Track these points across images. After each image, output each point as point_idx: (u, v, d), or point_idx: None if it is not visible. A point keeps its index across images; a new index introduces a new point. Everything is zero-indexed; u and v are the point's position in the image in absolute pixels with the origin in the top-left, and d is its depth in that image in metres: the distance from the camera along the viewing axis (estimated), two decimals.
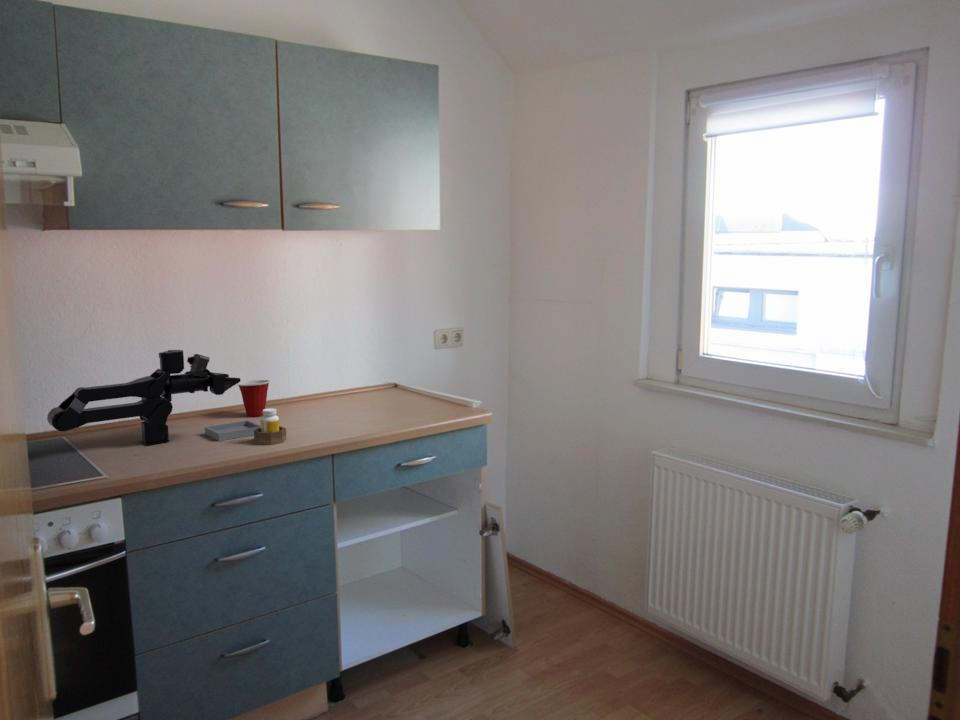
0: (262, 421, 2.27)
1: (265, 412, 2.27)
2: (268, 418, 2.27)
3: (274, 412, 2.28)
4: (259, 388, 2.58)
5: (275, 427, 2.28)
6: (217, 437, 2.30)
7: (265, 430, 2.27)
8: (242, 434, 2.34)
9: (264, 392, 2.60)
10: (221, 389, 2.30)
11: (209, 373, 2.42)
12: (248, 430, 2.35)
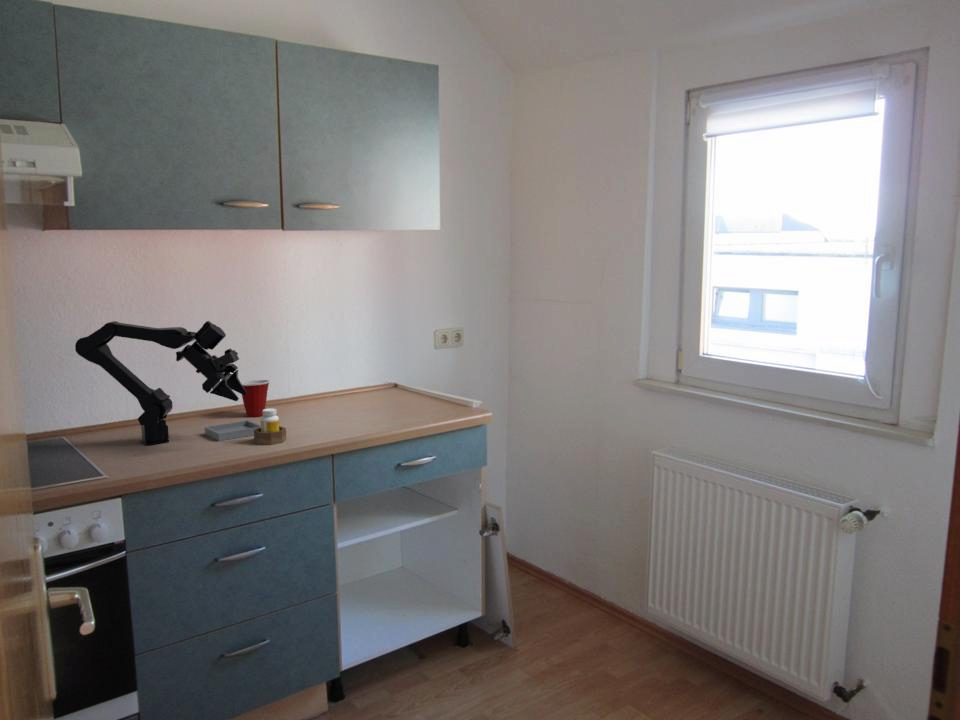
0: (262, 421, 2.27)
1: (265, 412, 2.27)
2: (268, 418, 2.27)
3: (274, 412, 2.28)
4: (259, 388, 2.58)
5: (275, 427, 2.28)
6: (217, 437, 2.30)
7: (265, 430, 2.27)
8: (242, 434, 2.34)
9: (264, 392, 2.60)
10: (209, 387, 2.17)
11: (234, 377, 2.32)
12: (248, 430, 2.35)
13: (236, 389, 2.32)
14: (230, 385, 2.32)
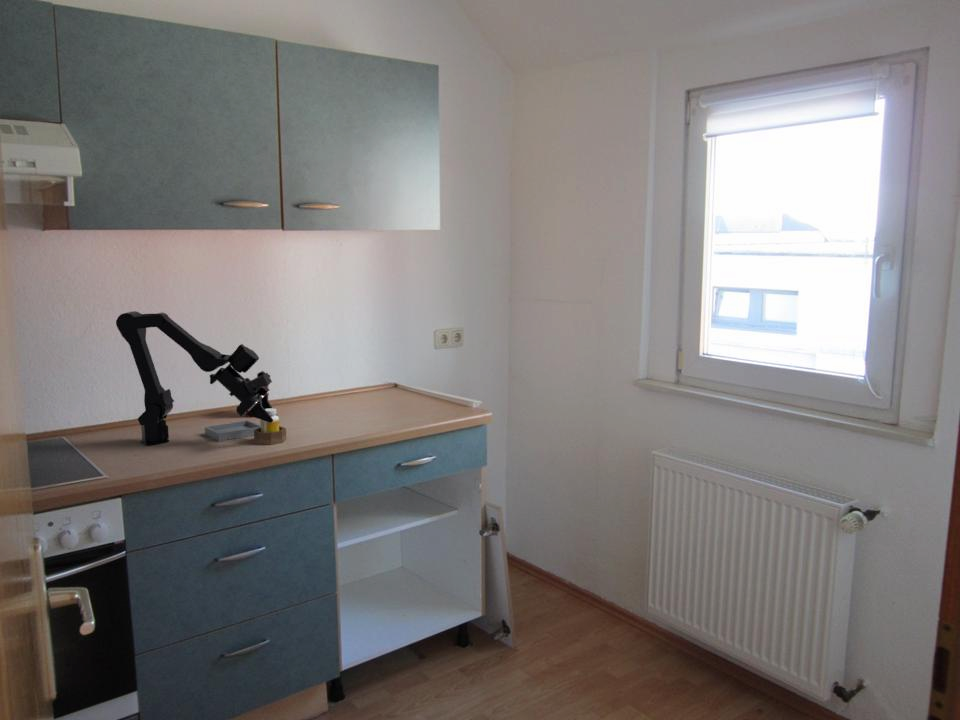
0: (262, 421, 2.27)
1: None
2: None
3: (274, 412, 2.28)
4: None
5: (275, 427, 2.28)
6: (217, 437, 2.30)
7: (265, 430, 2.27)
8: (242, 434, 2.34)
9: None
10: (243, 411, 2.19)
11: (265, 400, 2.31)
12: (248, 430, 2.35)
13: None
14: None
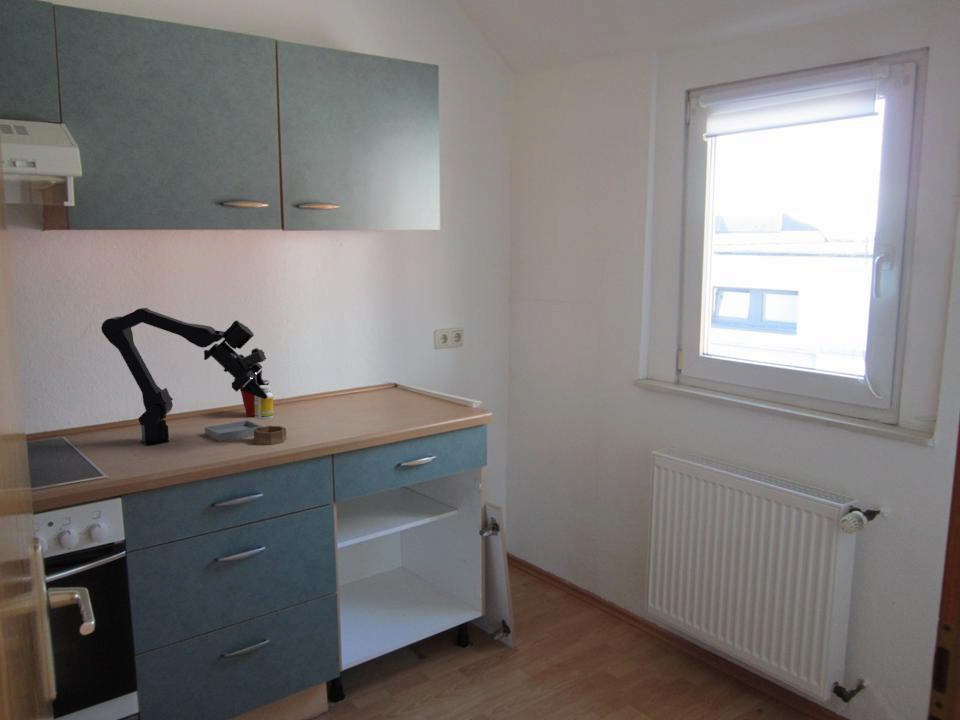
0: (256, 397, 2.27)
1: None
2: None
3: (268, 389, 2.28)
4: None
5: (270, 404, 2.28)
6: (217, 437, 2.30)
7: (259, 407, 2.27)
8: (242, 434, 2.34)
9: None
10: (238, 386, 2.19)
11: (258, 377, 2.32)
12: (248, 430, 2.35)
13: None
14: None
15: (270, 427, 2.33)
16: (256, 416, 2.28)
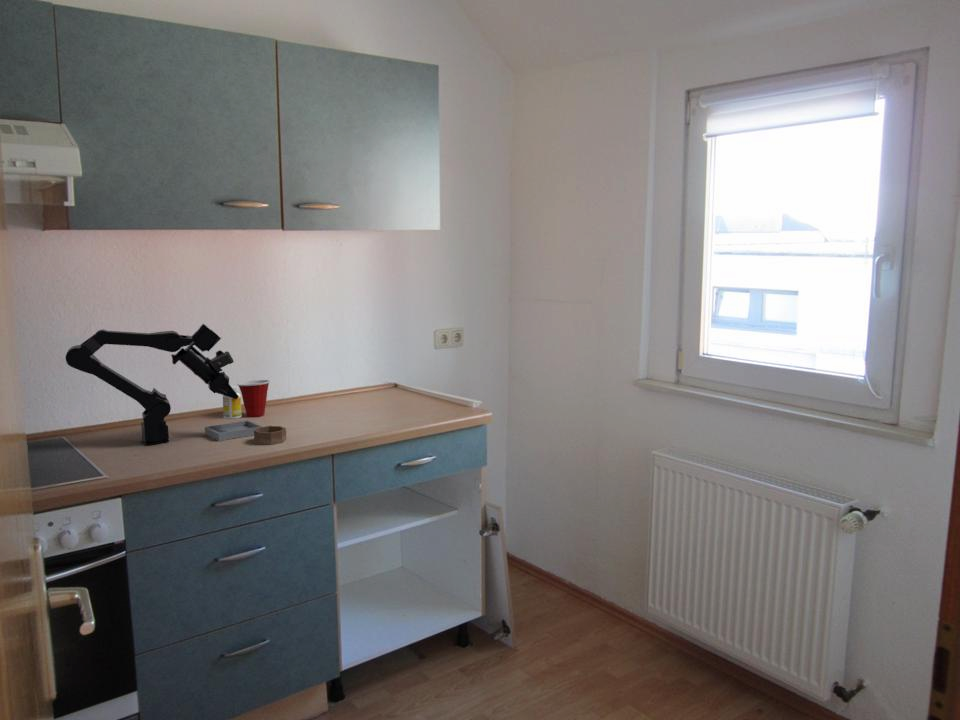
0: (227, 398, 2.34)
1: None
2: None
3: (237, 389, 2.36)
4: (259, 388, 2.58)
5: (239, 403, 2.36)
6: (217, 437, 2.30)
7: (230, 407, 2.34)
8: (242, 434, 2.34)
9: (264, 392, 2.60)
10: (217, 388, 2.25)
11: None
12: (248, 430, 2.35)
13: None
14: None
15: (270, 427, 2.33)
16: (226, 416, 2.34)
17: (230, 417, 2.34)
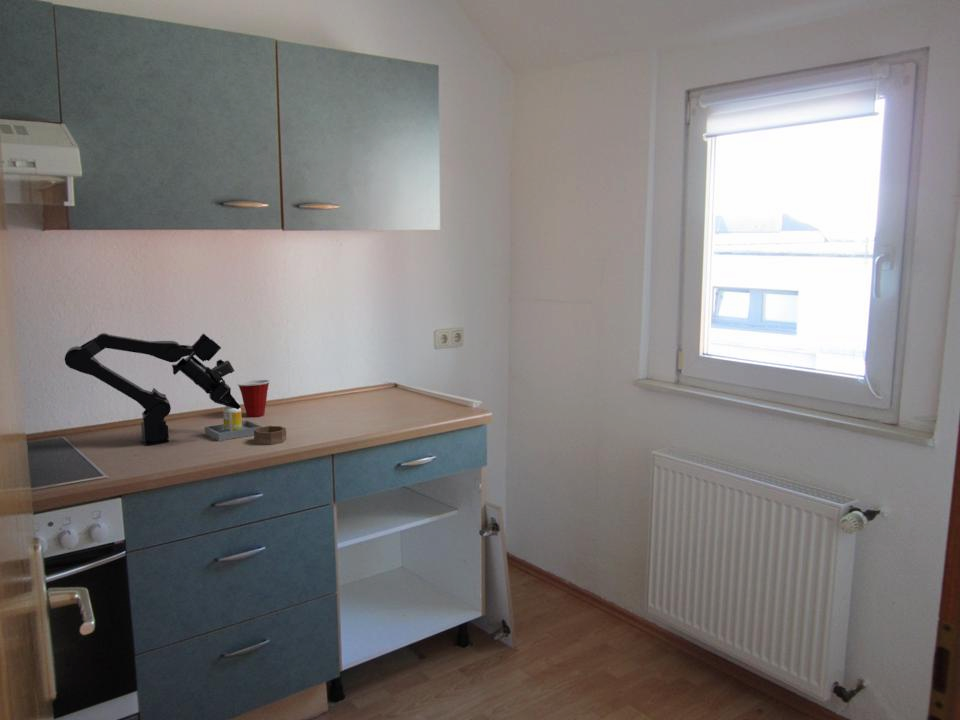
0: (227, 412, 2.34)
1: None
2: (233, 409, 2.35)
3: (238, 403, 2.36)
4: (259, 388, 2.58)
5: (240, 418, 2.37)
6: (217, 437, 2.30)
7: (231, 421, 2.35)
8: (242, 434, 2.34)
9: (264, 392, 2.60)
10: (218, 397, 2.25)
11: None
12: (248, 430, 2.35)
13: None
14: None
15: (270, 427, 2.33)
16: (227, 430, 2.35)
17: None
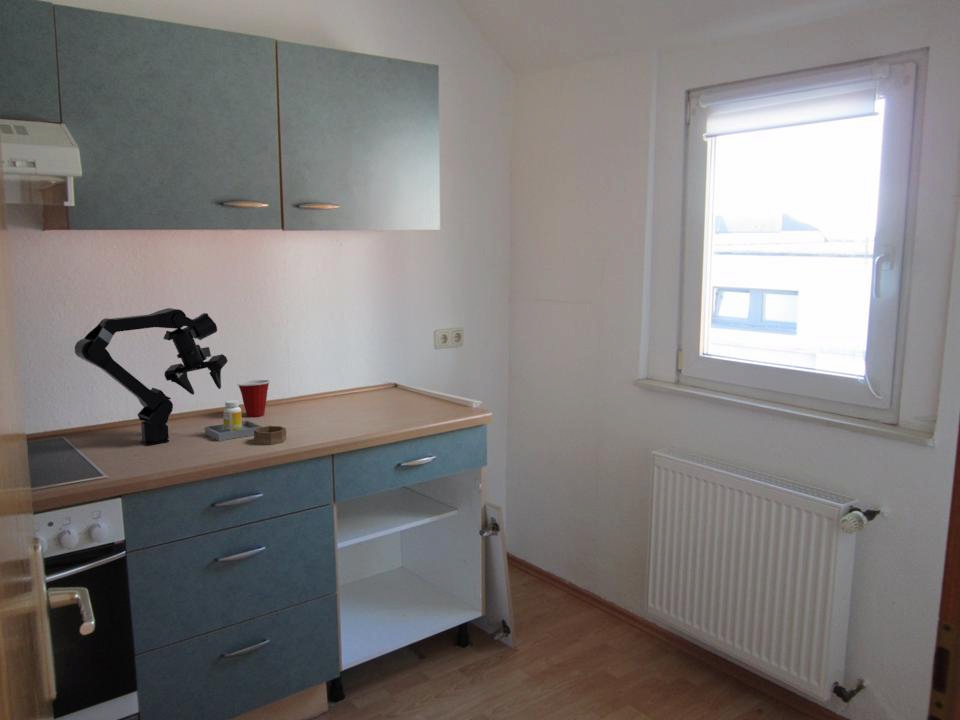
0: (227, 412, 2.34)
1: (230, 403, 2.34)
2: (233, 409, 2.35)
3: (238, 403, 2.36)
4: (259, 388, 2.58)
5: (240, 418, 2.37)
6: (217, 437, 2.30)
7: (231, 421, 2.35)
8: (242, 434, 2.34)
9: (264, 392, 2.60)
10: (222, 365, 2.32)
11: (186, 375, 2.38)
12: (248, 430, 2.35)
13: (188, 387, 2.37)
14: (184, 382, 2.36)
15: (270, 427, 2.33)
16: (227, 430, 2.35)
17: None
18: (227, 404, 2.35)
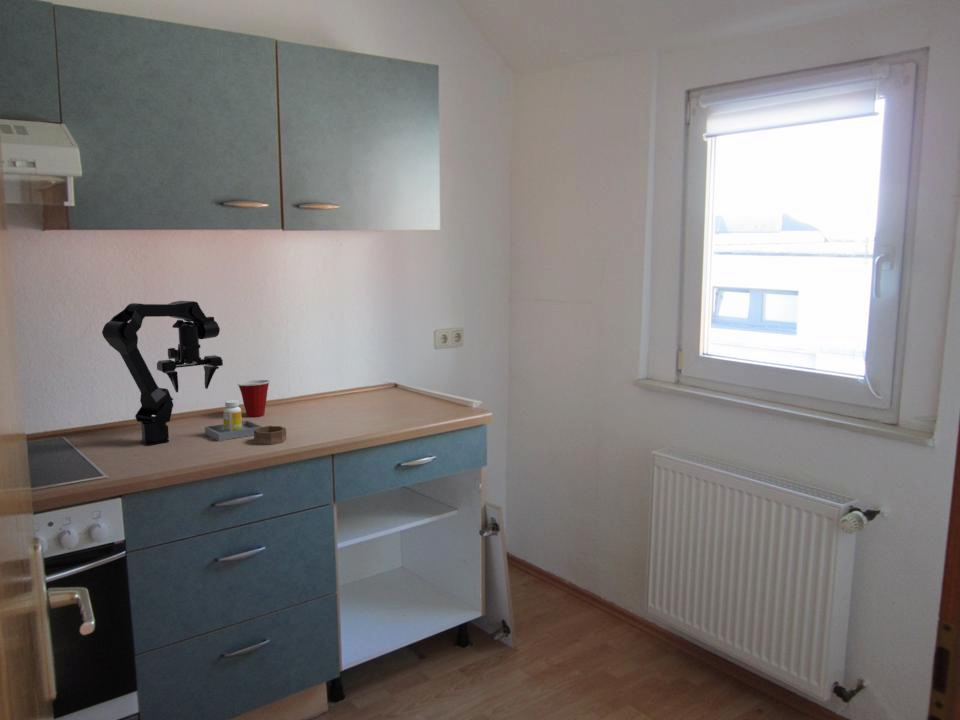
0: (227, 412, 2.34)
1: (230, 403, 2.34)
2: (233, 409, 2.35)
3: (238, 403, 2.36)
4: (259, 388, 2.58)
5: (240, 418, 2.37)
6: (217, 437, 2.30)
7: (231, 421, 2.35)
8: (242, 434, 2.34)
9: (264, 392, 2.60)
10: None
11: None
12: (248, 430, 2.35)
13: None
14: None
15: (270, 427, 2.33)
16: (227, 430, 2.35)
17: None
18: (227, 404, 2.35)
